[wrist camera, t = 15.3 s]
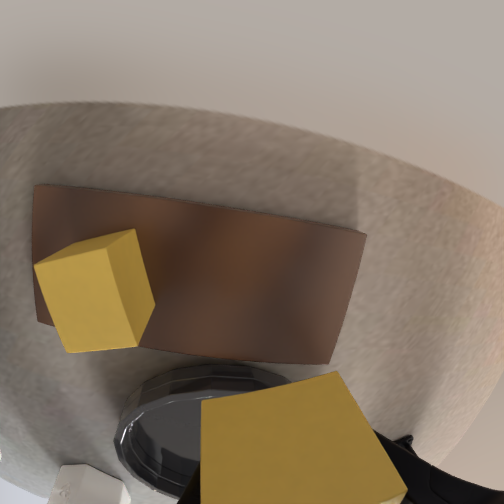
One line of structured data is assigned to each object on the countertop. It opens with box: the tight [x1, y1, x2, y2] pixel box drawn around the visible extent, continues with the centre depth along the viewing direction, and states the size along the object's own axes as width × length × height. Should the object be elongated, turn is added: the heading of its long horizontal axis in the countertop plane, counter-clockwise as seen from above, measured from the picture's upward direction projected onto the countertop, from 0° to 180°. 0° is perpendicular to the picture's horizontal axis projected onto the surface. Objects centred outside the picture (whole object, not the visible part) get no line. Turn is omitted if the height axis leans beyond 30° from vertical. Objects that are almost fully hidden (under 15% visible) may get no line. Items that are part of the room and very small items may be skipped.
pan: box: [114, 364, 292, 500], centre depth 19 cm, size 16×16×3 cm
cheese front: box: [200, 371, 408, 504], centre depth 6 cm, size 4×4×4 cm
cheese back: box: [34, 228, 155, 353], centre depth 13 cm, size 4×4×4 cm
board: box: [32, 184, 367, 365], centre depth 16 cm, size 20×9×1 cm, turn 80°
